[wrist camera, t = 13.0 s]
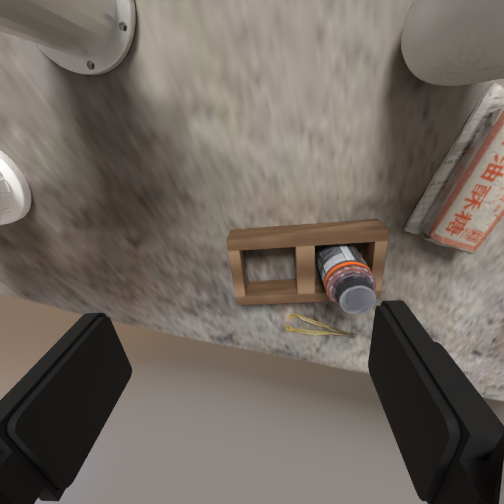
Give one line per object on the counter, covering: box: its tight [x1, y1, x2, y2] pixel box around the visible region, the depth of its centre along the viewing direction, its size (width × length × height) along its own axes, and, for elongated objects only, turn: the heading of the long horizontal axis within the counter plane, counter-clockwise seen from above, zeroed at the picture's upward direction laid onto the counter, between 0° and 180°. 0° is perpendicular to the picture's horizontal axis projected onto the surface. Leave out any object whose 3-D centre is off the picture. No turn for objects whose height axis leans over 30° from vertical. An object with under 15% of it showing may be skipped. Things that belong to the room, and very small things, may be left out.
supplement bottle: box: [316, 243, 377, 315], centre depth 34 cm, size 6×6×11 cm
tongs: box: [285, 313, 358, 338], centre depth 45 cm, size 4×13×2 cm, turn 82°
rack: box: [227, 219, 389, 305], centre depth 37 cm, size 11×21×4 cm, turn 96°
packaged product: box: [403, 83, 504, 254], centre depth 31 cm, size 18×5×10 cm
